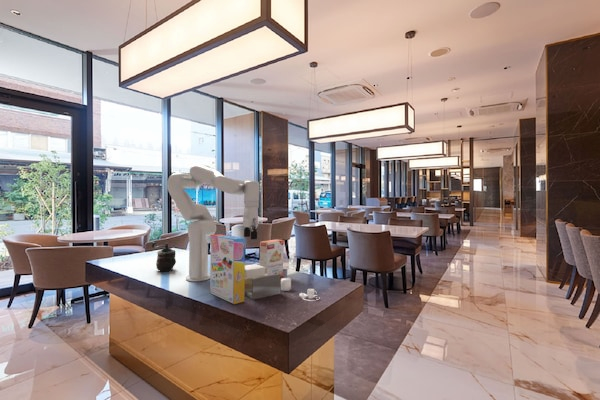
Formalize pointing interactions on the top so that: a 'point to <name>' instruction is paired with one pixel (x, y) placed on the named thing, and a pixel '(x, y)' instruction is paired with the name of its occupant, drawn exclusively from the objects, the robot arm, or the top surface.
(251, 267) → the carton
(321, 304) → the top surface
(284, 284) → the white rounded block
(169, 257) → the coffee grinder
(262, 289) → the stand
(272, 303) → the top surface
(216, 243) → the game box
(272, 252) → the cracker box
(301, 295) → the teacup and saucer
